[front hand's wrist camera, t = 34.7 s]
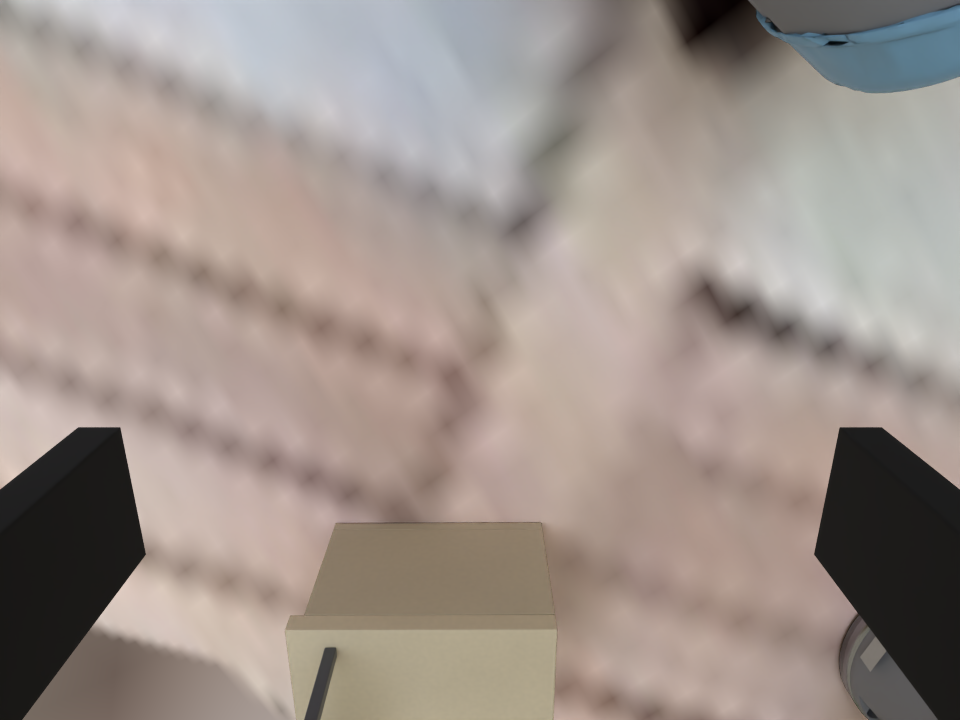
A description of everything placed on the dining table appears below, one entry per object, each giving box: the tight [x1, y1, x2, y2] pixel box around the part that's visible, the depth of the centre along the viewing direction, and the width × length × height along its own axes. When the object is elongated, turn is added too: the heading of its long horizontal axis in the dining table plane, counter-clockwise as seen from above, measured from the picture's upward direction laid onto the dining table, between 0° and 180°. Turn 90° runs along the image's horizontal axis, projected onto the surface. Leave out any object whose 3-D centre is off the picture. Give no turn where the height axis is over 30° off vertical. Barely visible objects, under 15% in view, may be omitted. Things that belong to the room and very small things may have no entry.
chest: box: [304, 523, 555, 616], centre depth 48 cm, size 15×10×10 cm, turn 90°
